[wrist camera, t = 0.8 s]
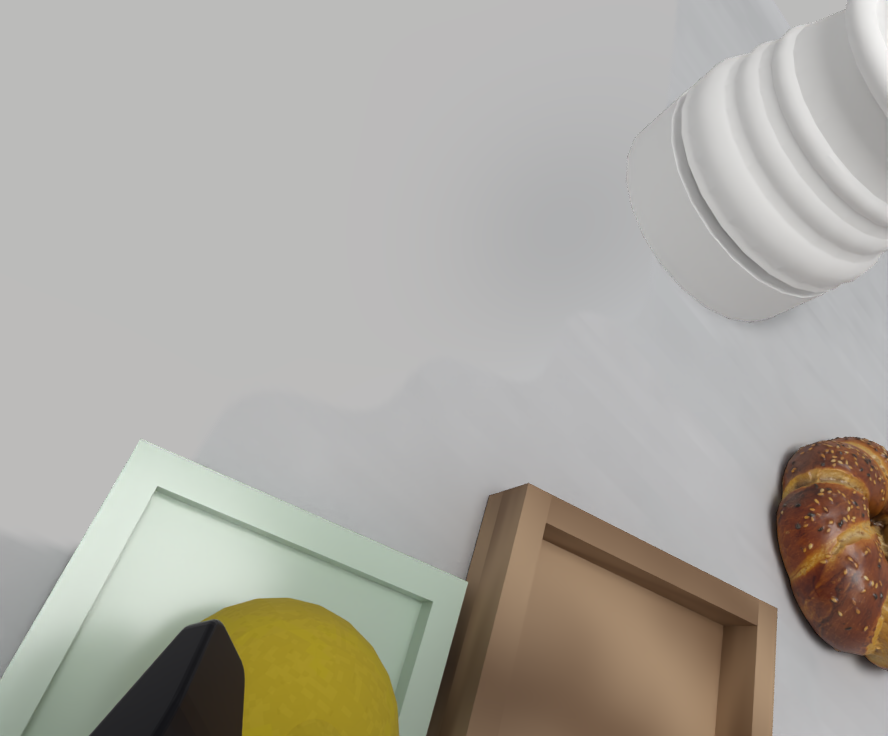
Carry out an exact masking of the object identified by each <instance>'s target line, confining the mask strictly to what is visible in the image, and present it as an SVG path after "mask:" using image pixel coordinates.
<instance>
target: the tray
mask: <svg viewBox="0 0 888 736" xmlns="http://www.w3.org/2000/svg"><path fill="white" fill-rule="evenodd" d="M466 581H467V582H468V585H467V588H466V592H465V596H464V599H463V603H462V607H461V610H460V614H459V618H458V621H457V625H456V628H455V632H454V636H453V639H452V643H451V647H450V650H449V654H448V658H447V661H446V665H445V669H444V672H443V676H442V679H441V683H440V687H439V690H438V694H437V698H436V701H435V705H434V709H433V712H432V716H431V720H430V723H429V727H428V730H427V734H426V736H772V727H773V703H774V679H775V655H776V631H777V608H775V607H773V606H771V605H769V604H767V603H765V602H763V601H761V600H759V599H757V598H755V597H753V596H751V595H749V594H747V593H745V592H744V591H742V590H740V589H738V588H736V587H734V586H732V585H730V584H728V583H726V582H724V581H722V580H720V579H718V578H716V577H714V576H712V575H710V574H708V573H706V572H704V571H702V570H700V569H698V568H696V567H694V566H692V565H690V564H688V563H686V562H684V561H682V560H680V559H678V558H676V557H674V556H672V555H670V554H668V553H666V552H664V551H662V550H660V549H658V548H656V547H654V546H652V545H650V544H648V543H646V542H644V541H642V540H640V539H639V538H637V537H635V536H633V535H631V534H629V533H627V532H625V531H623V530H621V529H619V528H617V527H615V526H613V525H611V524H609V523H607V522H605V521H603V520H601V519H599V518H597V517H595V516H593V515H591V514H589V513H587V512H585V511H583V510H581V509H579V508H577V507H575V506H573V505H571V504H569V503H567V502H565V501H563V500H561V499H559V498H557V497H555V496H553V495H551V494H549V493H547V492H545V491H543V490H541V489H539V488H537V487H535V486H534V485H532V484H530V483H527V484H524V485H521V486H518V487H515V488H512V489H508V490H505V491H502V492H499V493H496V494H493V495H489V499H488V502H487V506H486V510H485V513H484V517H483V520H482V524H481V528H480V531H479V535H478V539H477V542H476V546H475V549H474V553H473V557H472V560H471V564H470V567H469V571H468V575H467V578H466Z"/></svg>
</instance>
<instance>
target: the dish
mask: <svg viewBox="0 0 888 736" xmlns="http://www.w3.org/2000/svg"><path fill="white" fill-rule="evenodd" d="M467 585H468V582H467V581H465V580H462V579H460V578H458V577H456V576H453V575H451V574H449V573H446V572H444V571H442V570H440V569H437V568H435V567H433V566H430V565H428V564H426V563H424V562H421V561H419V560H417V559H414V558H412V557H410V556H408V555H405V554H403V553H401V552H398V551H396V550H394V549H392V548H389V547H387V546H385V545H383V544H380V543H378V542H376V541H373V540H371V539H369V538H367V537H364V536H362V535H360V534H357V533H355V532H353V531H351V530H348V529H346V528H344V527H341V526H339V525H337V524H335V523H332V522H330V521H328V520H325V519H323V518H321V517H319V516H316V515H314V514H312V513H309V512H307V511H305V510H303V509H300V508H298V507H296V506H293V505H291V504H289V503H287V502H284V501H282V500H280V499H277V498H275V497H273V496H271V495H268V494H266V493H264V492H261V491H259V490H257V489H255V488H252V487H250V486H248V485H245V484H243V483H241V482H239V481H236V480H234V479H232V478H229V477H227V476H225V475H223V474H220V473H218V472H216V471H213V470H211V469H209V468H207V467H204V466H202V465H200V464H197V463H195V462H193V461H191V460H188V459H186V458H184V457H181V456H179V455H177V454H175V453H172V452H170V451H168V450H165V449H163V448H161V447H158V446H156V445H154V444H151V443H149V442H147V441H145V440H142V439H140V441H139V443H138V444H137V446H136V448H135V450H134V451H133V453H132V455H131V456H130V458H129V460H128V462H127V463H126V465H125V467H124V468H123V470H122V472H121V474H120V475H119V477H118V479H117V480H116V482H115V484H114V486H113V487H112V489H111V491H110V493H109V494H108V496H107V498H106V499H105V501H104V503H103V504H102V506H101V508H100V510H99V511H98V513H97V515H96V517H95V518H94V520H93V522H92V523H91V525H90V527H89V529H88V530H87V532H86V534H85V535H84V537H83V539H82V540H81V542H80V544H79V546H78V547H77V549H76V551H75V552H74V554H73V556H72V558H71V559H70V561H69V563H68V564H67V566H66V568H65V570H64V571H63V573H62V575H61V577H60V578H59V580H58V582H57V583H56V585H55V587H54V589H53V590H52V592H51V594H50V595H49V597H48V599H47V601H46V602H45V604H44V606H43V607H42V609H41V611H40V613H39V614H38V616H37V618H36V619H35V621H34V623H33V625H32V626H31V628H30V630H29V631H28V633H27V635H26V637H25V638H24V640H23V642H22V643H21V645H20V647H19V649H18V650H17V652H16V654H15V655H14V657H13V659H12V661H11V662H10V664H9V666H8V667H7V669H6V671H5V673H4V674H3V676H2V678H1V679H0V736H89V735H90V734H91V733H92V731H93V730H94V729H95V728H96V727H97V726H98V725H99V723H100V722H101V721H102V720H103V719H104V718H105V717H106V715H107V714H108V713H109V712H110V711H111V710H112V709H113V708H114V706H115V705H116V704H117V703H118V702H119V701H120V700H121V698H122V697H123V696H124V695H125V694H126V693H127V692H128V690H129V689H130V688H131V687H132V686H133V685H134V684H135V682H136V681H137V680H138V679H139V678H140V677H141V676H142V674H143V673H144V672H145V671H146V670H147V669H148V668H149V667H150V665H151V664H152V663H153V662H154V661H155V660H156V659H157V657H158V656H159V655H160V654H161V653H162V652H163V651H164V649H165V648H166V647H167V646H168V645H169V644H170V643H171V641H172V640H173V639H174V638H175V637H176V636H177V635H178V634H179V632H180V631H181V630H182V629H183V628H184V627H186V626H188V625H190V624H194V623H198V622H201V621H202V620H204V619H206V618H208V617H209V616H211V615H213V614H214V613H216V612H218V611H220V610H221V609H223V608H225V607H229V606H232V605H236V604H239V603H243V602H246V601H250V600H253V599H257V598H293V599H297V600H301V601H305V602H309V603H313V604H317V605H320V606H323V607H324V608H326V609H328V610H329V611H331V612H333V613H335V614H336V615H338V616H340V617H341V618H343V619H345V620H347V621H348V622H349V623H351V624H352V625H353V627H354V628H355V629H356V630H357V631H358V632H359V633H360V634H361V635H362V636H363V637H364V638H365V639H366V640H367V641H368V642H369V643H370V644H371V645H372V646H373V648H374V650H375V651H376V653H377V655H378V657H379V658H380V660H381V662H382V664H383V665H384V667H385V669H386V671H387V672H388V674H389V677H390V680H391V684H392V687H393V691H394V694H395V698H396V701H397V706H398V723H399V736H426V734H427V730H428V727H429V723H430V720H431V716H432V712H433V709H434V705H435V701H436V698H437V694H438V690H439V687H440V683H441V679H442V676H443V672H444V669H445V665H446V661H447V658H448V654H449V650H450V647H451V643H452V639H453V636H454V632H455V628H456V625H457V621H458V618H459V614H460V610H461V607H462V603H463V599H464V596H465V592H466V588H467Z"/></svg>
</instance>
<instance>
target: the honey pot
mask: <svg viewBox="0 0 888 736" xmlns="http://www.w3.org/2000/svg"><path fill="white" fill-rule="evenodd" d="M626 182H627V188H628V192H629V198H630V203H631V208H632V210H633V213H634V215H635V218H636V220H637V223H638V225H639V227H640V230H641V233H642V235H643V237H644V239H645V240H646V242H647V244H648V245H649V247H650V249H651V250H652V251H653V253H654V254H655V256H656V258H657V259H658V261H659V262H660V264H661V265H662V266H663V267H664V269H665V270H666V271H667V272H668V273H669V274H670V275H671V277H672V278H673V279H674V280H675V281H676V282H677V284H678V285H679V286H680V287H681V288H682V289H683V290H684V291H686V292H687V293H688V294H689V295H691V296H692V297H693V298H694V299H696V300H697V301H698V302H699V303H701V304H702V305H703V306H704V307H706V308H708V309H710V310H712V311H714V312H716V313H718V314H720V315H722V316H724V317H726V318H728V319H733V320H739V321H744V322H755V321H760V320H765V319H769V318H772V317H774V316H776V315H778V314H780V313H783V312H785V311H787V310H789V309H792V308H794V307H796V306H798V305H801V304H803V303H805V302H807V301H810V300H812V299H814V298H816V297H819V296H821V295H823V294H824V293H825V292H826V291H828V290H834V289H836V288H837V287H838V286H839V285H841V284H843V283H847V282H851V281H854V280H855V279H857V278H858V277H860V276H861V275H862V274H864V273H865V272H866V271H868V270H869V269H870V268H871V267H872V266H874V265H875V264H876V263H877V262H878V260H879V258H880V257H881V255H882V253H883V252H885V251H887V250H888V0H847V6H846V9H844V10H842V11H840V12H837V13H835V14H833V15H830V16H828V17H826V18H823V19H821V20H819V21H817V22H814V23H807V24H803V25H799V26H794V27H792V28H791V29H789V30H788V31H787V32H786V33H785V34H784V35H783V37H782V38H780V39H777V40H773V41H769V42H764V43H762V44H760V45H759V46H757V47H755V48H754V49H753V50H752V51H751V52H750V53H747V54H741V55H738V56H734V57H730V58H726V59H725V60H723V61H721V62H720V63H718V64H716V65H715V66H714V67H713V68H712V69H711V70H710V71H709V72H708V73H707V74H706V75H705V76H704V77H702V78H700V79H699V80H698V81H697V82H696V83H695V84H694V85H693V86H692V87H690V88H689V89H688V90H687V91H686V92H685V93H683V94H682V95H681V96H680V97H679V98H678V99H677V100H676V101H674V102H673V103H672V104H671V105H670V106H669V107H668V108H667V109H665V110H664V111H663V112H662V113H661V114H660V115H659V116H658V117H657V118H655V119H654V120H653V121H652V122H651V123H650V124H649V125H648V126H647V127H645V128H644V129H643V130H642V131H641V132H640V133H639V134H638V135H637V136H636V137H635V139H634V141H633V143H632V146H631V149H630V151H629V154H628V156H627V172H626Z"/></svg>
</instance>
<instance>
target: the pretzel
mask: <svg viewBox="0 0 888 736" xmlns="http://www.w3.org/2000/svg"><path fill="white" fill-rule="evenodd" d="M782 485H783V494H782V501H781V502H780V505H779V507H778V511H777V512H776V515H777V534H778V542H779V547H780V551H781V555H782V559H783V562H784V565H785V568H786V571H787V573H788V575H789V578H790V582H791V587H792V591H793V594H794V596H795V598H796V600H797V603H798V605H799V606H800V609H801V610H802V612H803V614H804V616H805V617H806V619H807V620H808V621H809V623H810V625H811V626H812V628H813V629H814V630H815V631H816V633H817V634H818V635H819V636H820V637H821V638H822V639H823V640H824V641H825V642H827V643H828V644H829V645H831V646H832V647H833V648H834V649H835V650H837V651H843V652H847V653H852V654H858V655H861V656H863V655H865V657H866V658H867V659H868V660H869V661H870V662H872V663H873V664H875V665H876V666H878V667H880V668H882V669H885V670H887V671H888V451H887V450H886V449H885V448H884V447H883V446H880V445H879V444H877V443H875V442H873V441H869V440H867V439H865V438H862V439H861V438H857V437H844V438H839V437H837V438H835V439H831V440H827V441H821V442H816V443H813V444H810V445H806V446H805V447H801V448H800V449H799V450H798V451H797V452H796V453H795V454H794V455H793V456H792V457H791V459H790V460H789V462H788V464H787V466H786V469H785V472H784V476H783V482H782Z"/></svg>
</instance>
